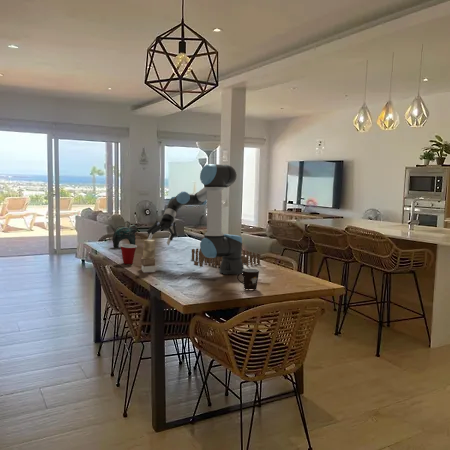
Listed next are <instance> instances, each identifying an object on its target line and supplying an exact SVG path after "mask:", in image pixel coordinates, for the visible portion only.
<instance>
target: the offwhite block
mask: <svg viewBox="0 0 450 450" xmlns="http://www.w3.org/2000/svg"><path fill="white" fill-rule="evenodd" d="M141 271H142V273H156V265H155V266H143V265H141Z"/></svg>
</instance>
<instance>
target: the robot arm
mask: <svg viewBox="0 0 450 450" xmlns="http://www.w3.org/2000/svg"><path fill="white" fill-rule="evenodd" d="M199 180H200V182H201V184H202V185H204V187H203V188H201V189H200V190H199V191H197V192H196V193H188V192H187V191H181V192H179V193H177V195H175V196H171V198H170V199H169V200H168V203H167V206H166V208H165V211H164V213H163V215H162V217H161V221H160V222H159V221H157V220H156V221H155V223H154V224H153V225H151V227H149V228H148V229H147V230H146V232H147V234H148V235H147V239H149V240H153V236H154V234H156V233H157V232H159V231H160V230H161V231H162V230H168V231H169V233H170V234H169V236H168V238H167V241H166V245H167V246H169V245H170V244H171V242H172V241H173V239H174V237H178V232H177V224H176V222H174V221H175V218H176V216H177V213H178V211H179V209H181V208H182V207H183V206H184V207H185V206H204V205H206V232H205V233H204V235H203V238H202V239H201V240H200V243H199V247H200V248H201V251H202V253H203V255H204V256H205V257H207V258H215V257H222V262H221V261H220V268H218V272H219V274H222V273H223V275H228V274H240V273H243V269H245V268H244V264H242V260H241V258H242V255H243V237H242V236H241V235H237V234H228V233H223V231H222V230H223V229H222V221H223V220H222V219H223V216H222V215H223V214H222V213H223V211H222V208H223V207H222V203H223V201H222V200H223V199H222V198H223V197H222V196H223V195H222V193H223V192H222V191H223V190H224V189H225V188H226V189H227V188H229V187H230V186H232V185H233V184H234V183H235V182H236V181H237V172H236V170H235V168H234V167H233V166H232V165H229V164H217V163H216V164H215V163H214V164H213V163H212V164H211V163H209V164H205V165H204V166H203V167H202V169H201V171H200V174H199ZM171 227H172V228H173V230H172V229H171ZM200 248H199V249H200ZM240 275H241V274H240Z"/></svg>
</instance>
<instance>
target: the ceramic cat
mask: <svg viewBox="0 0 450 450" xmlns="http://www.w3.org/2000/svg"><path fill="white" fill-rule="evenodd" d="M126 223H127V221H125V222H124V224H126ZM137 232H138V228H137V226H136V225H135V223H133V224H132V225H131V224H130V223H128V224H127V226H122V225H119V226H118V227H116V228H115V229H114V233H113V234H112V245H113V248H114V249H119V246H120V242H121V241H123V240H126V239H127V241H128V242H129V244H133V245H136V233H137Z"/></svg>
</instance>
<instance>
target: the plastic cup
mask: <svg viewBox="0 0 450 450" xmlns="http://www.w3.org/2000/svg"><path fill="white" fill-rule="evenodd" d="M119 246H120V249H121V257H122V262H123V264H125V265H132V264H133V263H134V258H135V252H136V250H137V247H138V245H136V244H135V245H133V244H130V243H121V244H119Z"/></svg>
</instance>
